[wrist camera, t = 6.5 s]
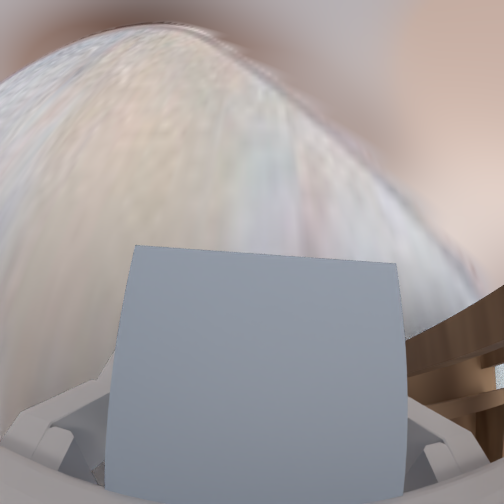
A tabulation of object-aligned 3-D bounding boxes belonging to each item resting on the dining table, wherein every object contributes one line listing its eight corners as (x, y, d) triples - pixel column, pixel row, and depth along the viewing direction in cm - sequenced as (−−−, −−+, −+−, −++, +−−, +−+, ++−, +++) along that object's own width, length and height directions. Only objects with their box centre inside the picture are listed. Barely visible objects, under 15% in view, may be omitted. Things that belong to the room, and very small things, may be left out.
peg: (192, 441, 12) (104, 514, 3) (199, 354, 13) (135, 245, 5) (286, 447, 12) (399, 519, 3) (289, 360, 13) (396, 263, 5)
